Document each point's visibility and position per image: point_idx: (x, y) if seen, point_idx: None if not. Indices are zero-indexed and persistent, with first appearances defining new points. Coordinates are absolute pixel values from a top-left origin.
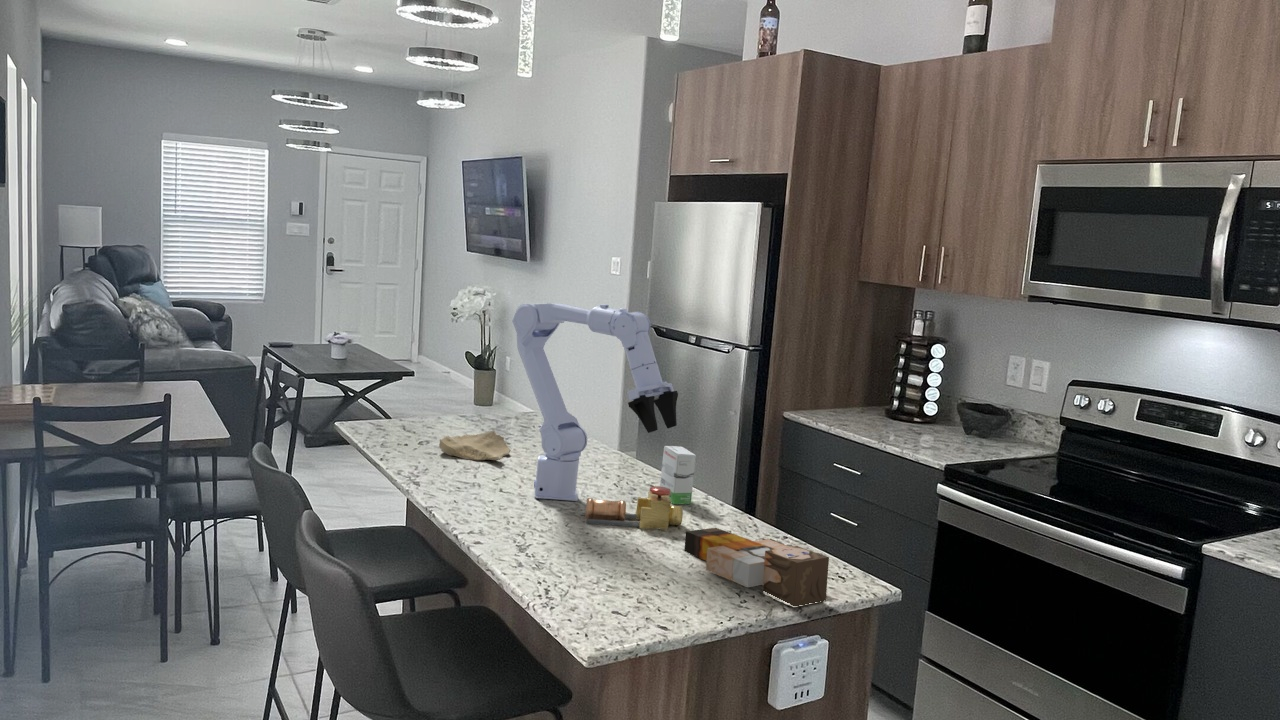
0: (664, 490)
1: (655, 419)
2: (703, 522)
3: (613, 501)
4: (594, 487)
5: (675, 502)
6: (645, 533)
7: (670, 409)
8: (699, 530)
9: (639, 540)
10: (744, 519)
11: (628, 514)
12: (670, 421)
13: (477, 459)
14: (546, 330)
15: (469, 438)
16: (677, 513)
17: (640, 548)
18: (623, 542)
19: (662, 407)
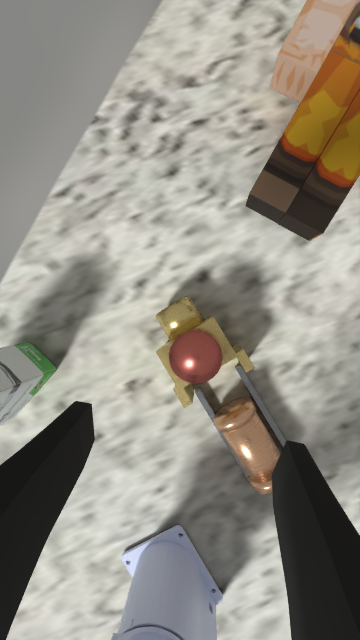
0: (197, 344)
1: (317, 500)
2: (120, 278)
3: (247, 439)
4: (66, 535)
5: (52, 365)
6: (265, 339)
7: (24, 509)
8: (297, 211)
9: (313, 331)
10: (43, 222)
11: (208, 404)
12: (77, 446)
13: None
14: None
15: None
16: (191, 306)
17: (355, 311)
18: (346, 350)
19: (12, 585)
